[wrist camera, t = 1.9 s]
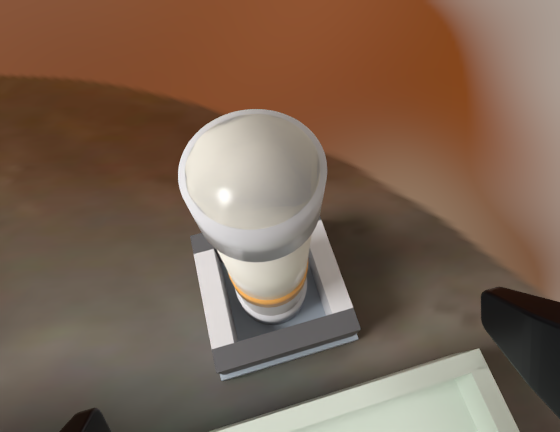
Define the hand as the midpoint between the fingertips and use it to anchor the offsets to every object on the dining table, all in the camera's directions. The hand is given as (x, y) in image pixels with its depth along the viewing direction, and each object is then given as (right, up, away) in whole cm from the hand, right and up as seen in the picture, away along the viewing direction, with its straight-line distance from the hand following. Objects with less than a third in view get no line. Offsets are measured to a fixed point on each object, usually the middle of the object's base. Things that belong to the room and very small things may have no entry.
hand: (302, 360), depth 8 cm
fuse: (-1, -1, +11) cm, 11 cm away
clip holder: (-1, -1, +12) cm, 12 cm away
